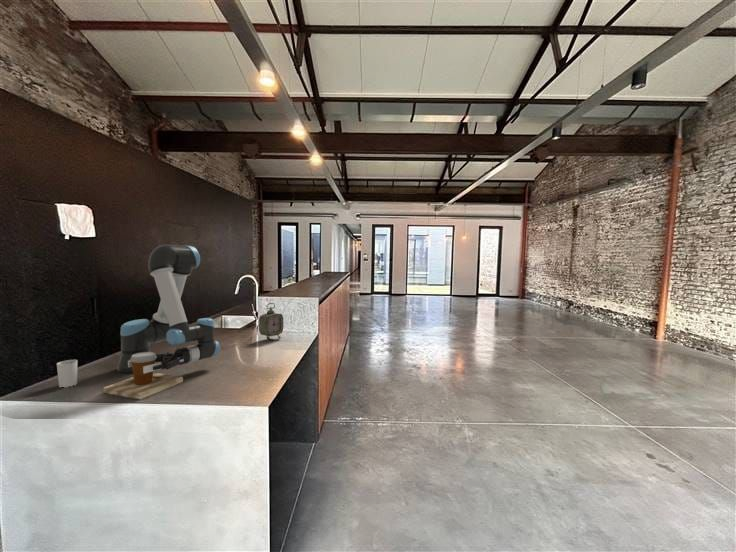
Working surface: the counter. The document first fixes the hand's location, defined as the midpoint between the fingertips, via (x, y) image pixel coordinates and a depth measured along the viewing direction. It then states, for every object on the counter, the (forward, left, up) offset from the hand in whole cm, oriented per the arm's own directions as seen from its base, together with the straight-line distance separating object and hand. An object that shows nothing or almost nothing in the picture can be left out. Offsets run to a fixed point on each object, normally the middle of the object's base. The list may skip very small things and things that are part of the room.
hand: (135, 367), depth 141 cm
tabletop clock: (+3, +92, -10) cm, 93 cm away
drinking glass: (-32, -6, -10) cm, 34 cm away
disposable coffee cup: (-1, +4, -8) cm, 9 cm away
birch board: (+1, +3, -9) cm, 10 cm away
